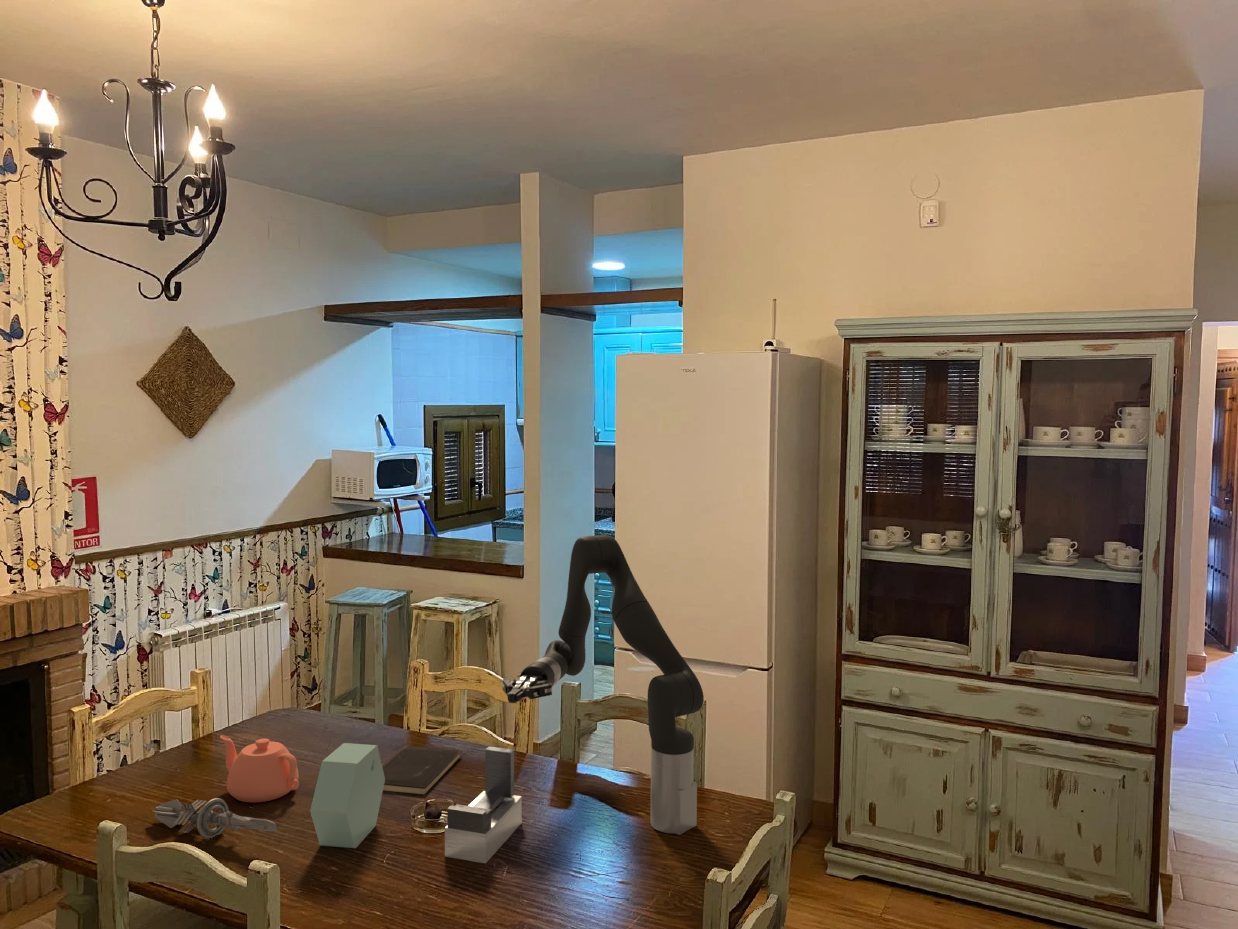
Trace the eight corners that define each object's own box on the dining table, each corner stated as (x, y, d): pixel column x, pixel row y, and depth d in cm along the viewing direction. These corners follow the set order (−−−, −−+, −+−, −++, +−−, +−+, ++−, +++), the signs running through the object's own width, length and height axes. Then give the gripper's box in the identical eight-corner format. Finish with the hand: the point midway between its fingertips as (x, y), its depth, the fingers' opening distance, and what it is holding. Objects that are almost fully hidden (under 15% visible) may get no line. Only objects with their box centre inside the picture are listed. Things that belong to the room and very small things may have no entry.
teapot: (197, 798, 205) (195, 745, 205) (246, 772, 220) (245, 722, 219) (275, 813, 198) (274, 758, 197) (320, 785, 213) (319, 734, 212)
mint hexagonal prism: (336, 850, 191) (357, 751, 201) (370, 853, 190) (390, 753, 200) (302, 840, 176) (327, 734, 186) (339, 843, 175) (363, 736, 185)
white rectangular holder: (483, 817, 197) (483, 773, 196) (521, 823, 194) (521, 778, 194) (444, 856, 180) (444, 808, 179) (485, 863, 177) (485, 814, 177)
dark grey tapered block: (488, 791, 196) (488, 746, 195) (514, 794, 194) (514, 749, 193) (466, 812, 185) (466, 765, 184) (492, 816, 183) (492, 769, 183)
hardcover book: (461, 759, 231) (461, 750, 230) (425, 797, 208) (425, 787, 208) (403, 754, 234) (403, 745, 234) (361, 791, 211) (361, 781, 211)
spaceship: (256, 826, 175) (283, 796, 182) (132, 811, 189) (161, 784, 196) (272, 856, 178) (297, 825, 185) (148, 839, 192) (176, 811, 199)
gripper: (515, 658, 217) (484, 679, 200) (566, 663, 213) (539, 685, 196) (515, 688, 217) (484, 712, 201) (566, 694, 213) (539, 718, 197)
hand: (511, 698), depth 199 cm, fingers closed
